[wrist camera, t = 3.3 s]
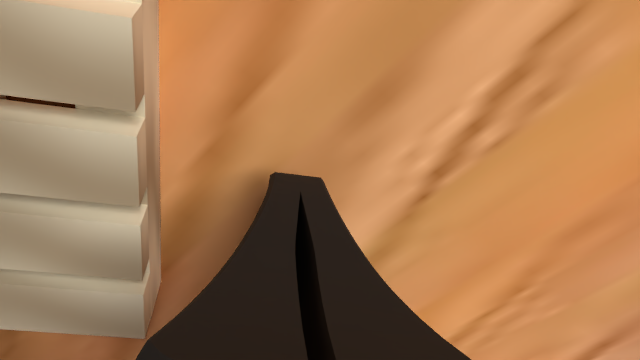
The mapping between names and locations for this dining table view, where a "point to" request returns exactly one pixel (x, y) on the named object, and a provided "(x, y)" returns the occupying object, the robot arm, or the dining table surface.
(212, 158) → the dining table surface
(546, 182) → the dining table surface
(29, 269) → the pallet
